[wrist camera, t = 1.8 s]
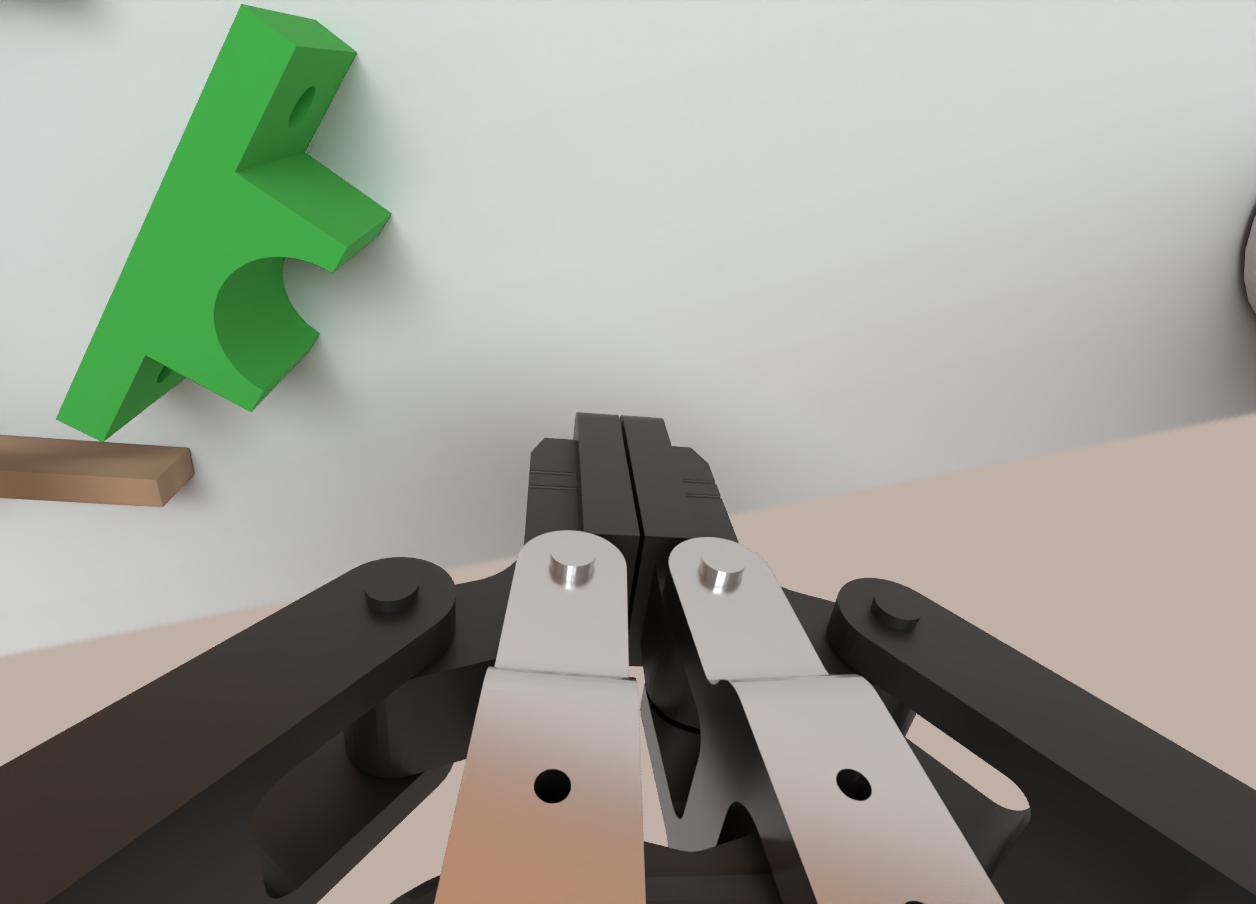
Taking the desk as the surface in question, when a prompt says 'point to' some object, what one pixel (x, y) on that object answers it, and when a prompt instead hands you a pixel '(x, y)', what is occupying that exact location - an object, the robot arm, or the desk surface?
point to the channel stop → (91, 471)
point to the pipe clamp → (229, 233)
